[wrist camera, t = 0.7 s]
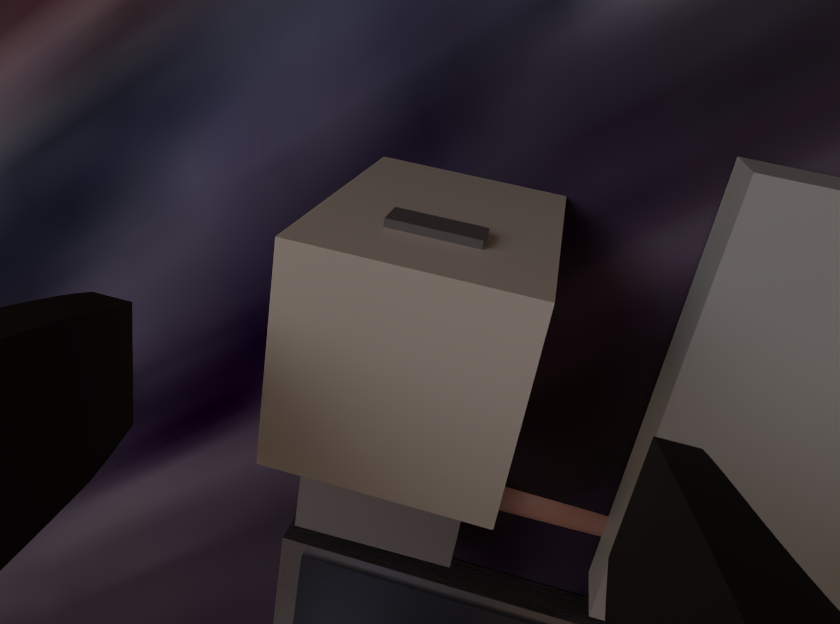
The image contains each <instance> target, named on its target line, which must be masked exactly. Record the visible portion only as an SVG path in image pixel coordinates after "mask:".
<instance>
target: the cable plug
mask: <svg viewBox="0 0 840 624" xmlns="http://www.w3.org/2000/svg"><path fill="white" fill-rule="evenodd" d="M499 510H500V511H504V512H508V513H512V514H516V515H520V516H523V517H527V518H531V519H535V520H539V521H543V522H546V523H550V524H554V525H558V526H562V527H566V528H569V529H573V530H577V531H581V532H585V533H589V534H593V535H597V536H602V534H603V532H604V530H605V527H606V523H607V519H608V516H605V515H601V514H598V513H595V512H591V511H588V510H584V509H581V508H577V507H574V506H571V505H567V504H564V503H560V502H557V501H553V500H550V499H546V498H543V497H539V496H536V495H532V494H529V493H525V492H522V491H518V490H515V489H511V488H508V487H505V488H504V492H503V495H502V499H501V503H500V506H499ZM460 523H461V521H459V520H455V519H452V518H448V517H445V516H441V515H438V514H434V513H430V512H427V511H423V510H420V509H416V508H413V507H409V506H406V505H402V504H398V503H395V502H391V501H388V500H384V499H381V498H377V497H373V496H370V495H366V494H363V493H359V492H356V491H352V490H349V489H345V488H341V487H338V486H334V485H331V484H327V483H324V482H320V481H317V480H313V479H309V478H306V477H302V476H301V477H300V486H299V494H298V503H297V512H296V520H295V526H299V527H303V528H306V529H310V530H314V531H317V532H321V533H325V534H328V535H332V536H336V537H339V538H343V539H347V540H350V541H354V542H358V543H361V544H365V545H369V546H372V547H376V548H380V549H383V550H387V551H391V552H394V553H398V554H402V555H405V556H409V557H413V558H416V559H420V560H424V561H427V562H431V563H435V564H438V565H442V566H446V567H449V568H450V564H451V560H452V556H453V552H454V548H455V544H456V540H457V535H458V531H459V527H460Z"/></svg>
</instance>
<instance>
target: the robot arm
mask: <svg viewBox="0 0 840 624" xmlns="http://www.w3.org/2000/svg"><path fill="white" fill-rule="evenodd" d="M132 425H133V350H132V302H130V301H126V300H122V299H118V298H114V297H110V296H106V295H102V294H99V293H95V292H86V293H76V294H68V295H62V296H56V297H50V298H45V299H39V300H34V301H29V302H24V303H19V304H14V305H10V306H5V307H0V570H1V569H2V568H3V567H4V566H5V565H6V564H7V563H8V562H9V561H10V560H11V559H12V558H14V557H15V556H16V555H17V554H18V553H19V552H20V551H21V550H22V549H23V548H24V547H25V546H26V545H27V544H28V543H29V542H30V541H31V540H32V539H33V538H34V537H35V536H36V535H37V534H38V533H39V532H40V531H41V530H42V529H43V528H44V527H45V526H46V525H47V524H48V523H49V522H50V521H51V520H52V519H53V518H54V517H55V516H56V515H57V514H58V513H59V512H60V511H61V510H62V509H63V508H64V507H65V506H66V505H67V504H68V503H69V502H70V501H71V500H72V499H73V498H74V497H75V496H76V495H77V494H78V493H79V492H80V491H81V490H82V489H83V488H84V487H85V486H86V485H87V484H88V482H89V481H90V480H91V479H92V478H93V477H94V476H95V474H96V473H97V472H98V470H99V469H100V468H101V467H102V465H103V464H104V463H105V462H106V460H107V459H108V458H109V457H110V455H111V454H112V453H113V451H114V450H115V449H116V447H117V446H118V444H119V443H120V442H121V440H122V439H123V438H124V436H125V435H126V433H127V432H128V431H129V429H130V428H131V427H132ZM605 624H840V611H839V609H838V608H837V607H836V606H835V605H834V604H833V603H832V602H831V601H830V600H829V598H828V597H827V596H826V595H825V594H824V593H823V592H822V591H821V589H820V588H819V587H818V586H817V585H816V584H815V583H814V581H813V580H812V579H811V578H810V577H809V576H808V575H807V573H806V572H805V571H804V570H803V569H802V568H801V566H800V565H799V564H798V563H797V562H796V561H795V559H794V558H793V557H792V556H791V555H790V554H789V552H788V551H787V550H786V549H785V548H784V546H783V545H782V544H781V543H780V542H779V540H778V539H777V538H776V537H775V536H774V534H773V533H772V532H771V531H770V529H769V528H768V527H767V526H766V525H765V523H764V522H763V521H762V520H761V518H760V517H759V516H758V515H757V513H756V512H755V511H754V510H753V509H752V507H751V506H750V505H749V504H748V502H747V501H746V500H745V499H744V497H743V496H742V495H741V494H740V492H739V491H738V490H737V489H736V487H735V486H734V485H733V484H732V482H731V481H730V480H729V479H728V478H727V476H726V475H725V474H724V473H723V471H722V470H721V469H720V468H719V467H718V465H717V464H716V463H715V462H714V461H713V460H712V458H711V457H710V456H709V455H708V454H707V453H706V452H705V451H704V450H703V449H702V448H698V447H694V446H690V445H686V444H682V443H678V442H674V441H670V440H667V439H663V438H659V437H655V436H653V439H652V441H651V444H650V447H649V449H648V452H647V455H646V458H645V460H644V463H643V466H642V468H641V471H640V474H639V476H638V479H637V482H636V484H635V487H634V490H633V492H632V495H631V498H630V501H629V503H628V506H627V509H626V511H625V514H624V517H623V519H622V522H621V525H620V527H619V530H618V533H617V536H616V538H615V541H614V544H613V546H612V549H611V552H610V554H609V557H608V571H607V587H606V606H605Z"/></svg>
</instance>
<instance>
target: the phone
mask: <svg viewBox="0 0 840 624" xmlns="http://www.w3.org/2000/svg"><path fill="white" fill-rule="evenodd" d="M295 520H296V515H295V517H294V519H293V521H292V522H291V524H290V526H289V528H288V529H287V531H286V533H285V535H284V536H283V540H282V549H281V558H280V567H279V577H278V586H277V595H276V604H275V613H274V622H273V624H605V621H603V620H600V619H596V618H593V617H589V598H587V597H584V596H580V595H577V594H573V593H570V592H566V591H563V590H559V589H556V588H552V587H549V586H545V585H542V584H538V583H535V582H532V581H528V580H525V579H521V578H518V577H514V576H511V575H507V574H504V573H500V572H497V571H493V570H490V569H486V568H483V567H480V566H476V565H473V564H469V563H466V562H462V561H459V560H455V559H452V560H451V564H450V568H449V567H446V566H442V565H438V564H435V563H431V562H427V561H424V560H420V559H416V558H413V557H409V556H405V555H402V554H398V553H394V552H391V551H387V550H383V549H380V548H376V547H372V546H369V545H365V544H361V543H358V542H354V541H350V540H347V539H343V538H339V537H336V536H332V535H328V534H325V533H321V532H317V531H314V530H310V529H306V528H303V527H299V526H295Z"/></svg>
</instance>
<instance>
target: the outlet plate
mask: <svg viewBox="0 0 840 624" xmlns="http://www.w3.org/2000/svg"><path fill="white" fill-rule="evenodd" d="M653 436H655V437H659V438H663V439H667V440H670V441H674V442H678V443H682V444H686V445H690V446H694V447H698V448H702V449H703V450H704V451H705V452H706V453H707V454H708V455H709V456H710V457H711V458H712V460H713V461H714V462H715V463H716V464H717V465H718V467H719V468H720V469H721V470H722V471H723V473H724V474H725V475H726V476H727V478H728V479H729V480H730V481H731V482H732V484H733V485H734V486H735V487H736V489H737V490H738V491H739V492H740V494H741V495H742V496H743V497H744V499H745V500H746V501H747V502H748V504H749V505H750V506H751V507H752V509H753V510H754V511H755V512H756V513H757V515H758V516H759V517H760V518H761V520H762V521H763V522H764V523H765V525H766V526H767V527H768V528H769V529H770V531H771V532H772V533H773V534H774V536H775V537H776V538H777V539H778V540H779V542H780V543H781V544H782V545H783V546H784V548H785V549H786V550H787V551H788V552H789V554H790V555H791V556H792V557H793V558H794V559H795V561H796V562H797V563H798V564H799V565H800V566H801V568H802V569H803V570H804V571H805V572H806V573H807V575H808V576H809V577H810V578H811V579H812V580H813V581H814V583H815V584H816V585H817V586H818V587H819V588H820V589H821V591H822V592H823V593H824V594H825V595H826V596H827V597H828V598H829V600H830V601H831V602H832V603H833V604H834V605H835V606H836V607H837V608H838V609H839V611H840V177H835V176H830V175H825V174H821V173H816V172H811V171H806V170H801V169H796V168H791V167H786V166H782V165H777V164H772V163H767V162H762V161H757V160H752V159H747V158H743V157H737V159H736V162H735V165H734V168H733V171H732V173H731V176H730V179H729V182H728V185H727V187H726V190H725V193H724V196H723V198H722V201H721V204H720V207H719V210H718V212H717V215H716V218H715V221H714V224H713V226H712V229H711V232H710V235H709V238H708V240H707V243H706V246H705V249H704V251H703V254H702V257H701V260H700V263H699V265H698V268H697V271H696V274H695V277H694V279H693V282H692V285H691V288H690V291H689V293H688V296H687V299H686V302H685V305H684V307H683V310H682V313H681V316H680V318H679V321H678V324H677V327H676V330H675V332H674V335H673V338H672V341H671V344H670V346H669V349H668V352H667V355H666V358H665V360H664V363H663V366H662V369H661V371H660V374H659V377H658V380H657V383H656V385H655V388H654V391H653V394H652V397H651V399H650V402H649V405H648V408H647V411H646V413H645V416H644V419H643V422H642V424H641V427H640V430H639V433H638V436H637V438H636V441H635V444H634V447H633V450H632V452H631V455H630V458H629V461H628V464H627V466H626V469H625V472H624V475H623V477H622V480H621V483H620V486H619V489H618V491H617V494H616V497H615V500H614V503H613V505H612V508H611V511H610V514H609V517H608V519H607V523H606V527H605V530H604V532H603V534H602V536H601V539H600V542H599V544H598V547H597V550H596V553H595V556H594V558H593V561H592V564H591V567H590V570H589V617H593V618H596V619H600V620H603V621H605V606H606V587H607V571H608V557H609V554H610V552H611V549H612V546H613V544H614V541H615V538H616V536H617V533H618V530H619V527H620V525H621V522H622V519H623V517H624V514H625V511H626V509H627V506H628V503H629V501H630V498H631V495H632V492H633V490H634V487H635V484H636V482H637V479H638V476H639V474H640V471H641V468H642V466H643V463H644V460H645V458H646V455H647V452H648V449H649V447H650V444H651V441H652V439H653Z"/></svg>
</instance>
